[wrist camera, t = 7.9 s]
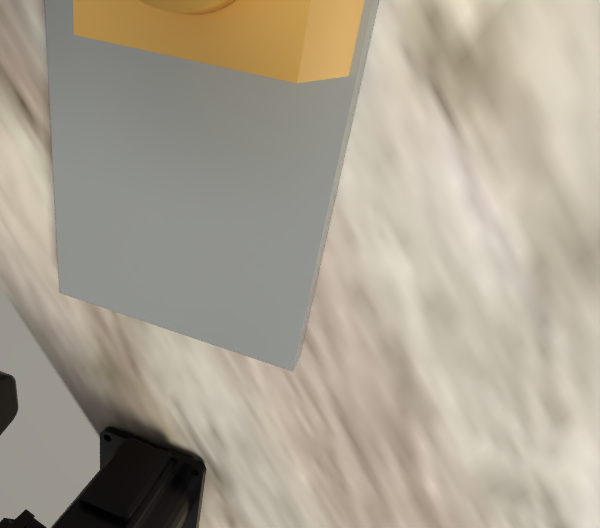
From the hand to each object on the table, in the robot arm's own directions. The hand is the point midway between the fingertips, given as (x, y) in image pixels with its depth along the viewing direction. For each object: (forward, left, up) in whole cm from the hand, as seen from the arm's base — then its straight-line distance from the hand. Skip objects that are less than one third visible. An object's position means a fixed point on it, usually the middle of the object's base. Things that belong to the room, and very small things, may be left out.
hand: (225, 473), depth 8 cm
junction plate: (+3, +7, -12) cm, 14 cm away
